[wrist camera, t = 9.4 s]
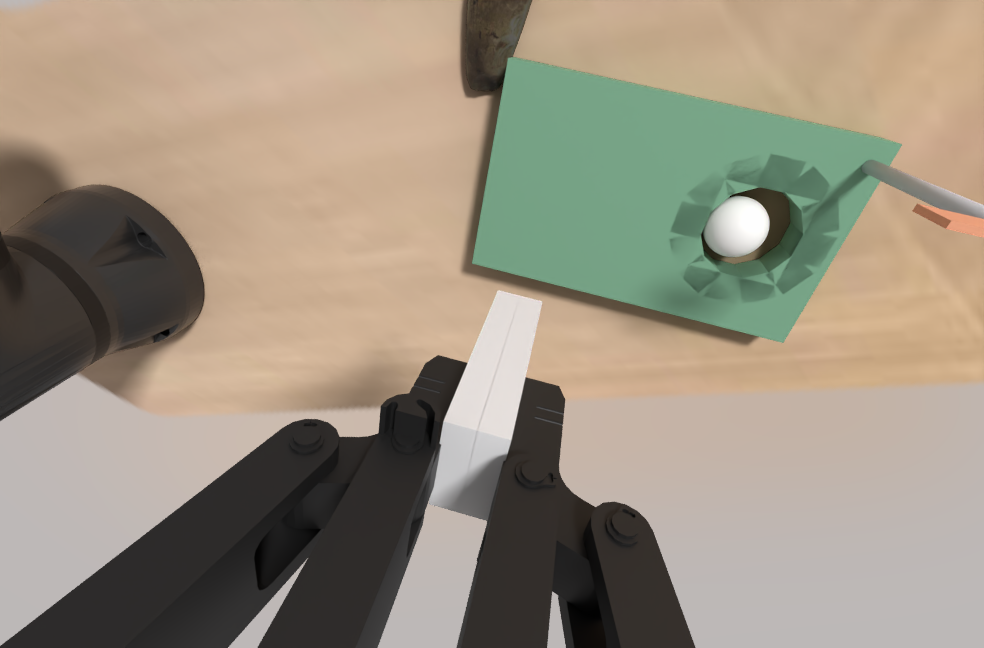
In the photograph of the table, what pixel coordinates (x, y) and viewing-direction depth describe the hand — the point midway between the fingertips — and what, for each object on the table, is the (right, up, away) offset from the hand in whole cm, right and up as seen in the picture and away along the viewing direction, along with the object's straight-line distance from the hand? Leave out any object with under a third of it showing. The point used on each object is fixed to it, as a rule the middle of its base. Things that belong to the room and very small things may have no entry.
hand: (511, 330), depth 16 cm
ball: (+16, +7, +16) cm, 23 cm away
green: (+11, +9, +18) cm, 23 cm away
